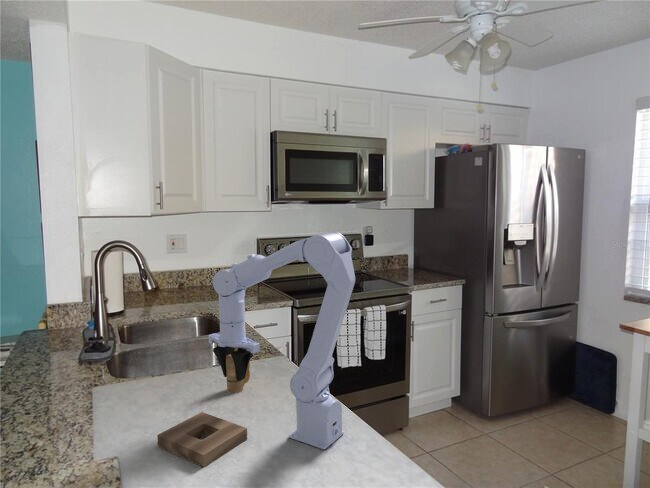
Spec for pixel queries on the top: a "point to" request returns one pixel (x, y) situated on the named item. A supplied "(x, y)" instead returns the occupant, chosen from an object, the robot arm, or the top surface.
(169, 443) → the board
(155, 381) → the top surface
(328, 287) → the robot arm
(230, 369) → the dowel
